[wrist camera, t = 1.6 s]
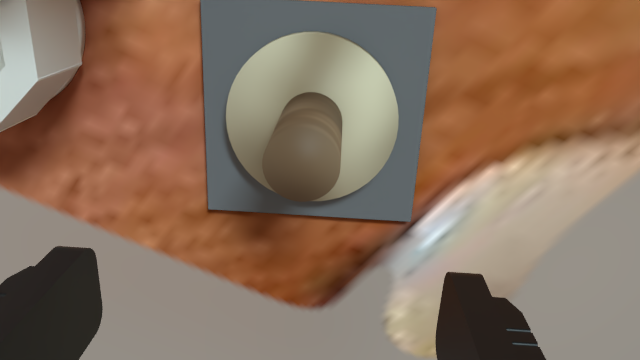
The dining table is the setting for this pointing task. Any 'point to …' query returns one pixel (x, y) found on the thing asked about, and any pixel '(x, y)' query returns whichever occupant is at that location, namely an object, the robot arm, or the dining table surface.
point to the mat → (337, 18)
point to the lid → (312, 116)
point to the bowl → (37, 54)
